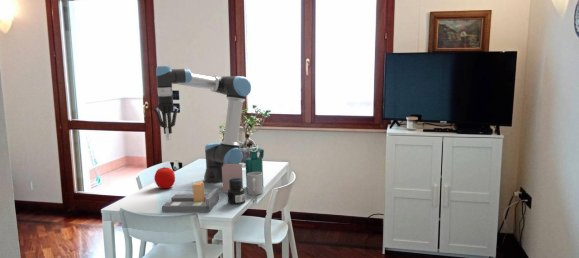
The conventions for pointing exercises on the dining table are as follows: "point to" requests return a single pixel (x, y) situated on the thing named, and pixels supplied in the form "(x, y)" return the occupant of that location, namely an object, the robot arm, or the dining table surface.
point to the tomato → (164, 177)
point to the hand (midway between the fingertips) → (168, 139)
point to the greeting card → (231, 174)
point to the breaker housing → (191, 203)
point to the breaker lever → (198, 192)
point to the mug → (254, 183)
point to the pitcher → (254, 162)
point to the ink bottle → (236, 191)
